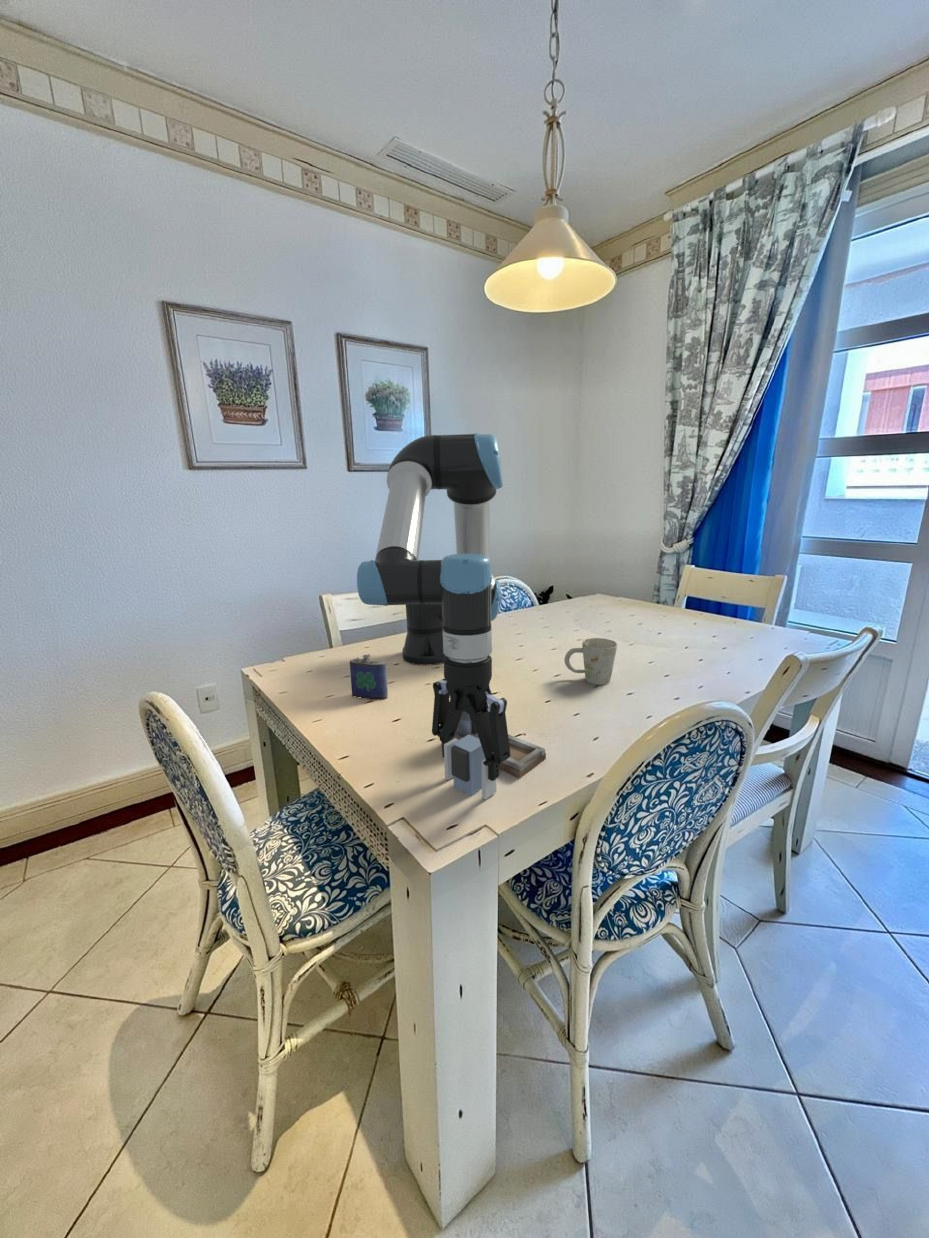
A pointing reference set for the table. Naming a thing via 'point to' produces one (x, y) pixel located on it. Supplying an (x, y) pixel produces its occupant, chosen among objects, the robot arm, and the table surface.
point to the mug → (595, 659)
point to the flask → (368, 678)
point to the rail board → (521, 751)
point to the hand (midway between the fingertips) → (470, 784)
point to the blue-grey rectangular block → (467, 764)
